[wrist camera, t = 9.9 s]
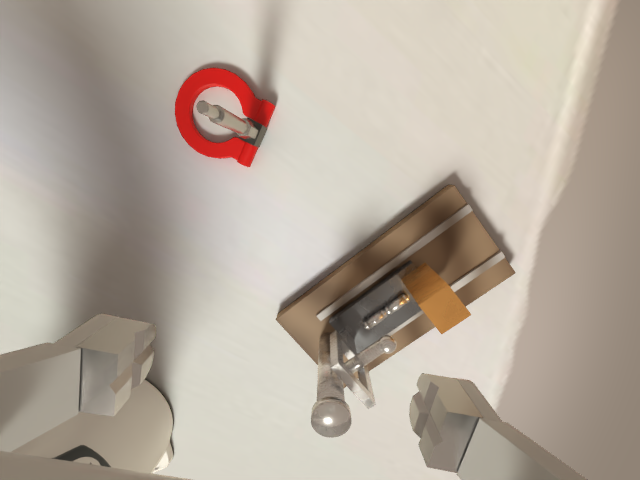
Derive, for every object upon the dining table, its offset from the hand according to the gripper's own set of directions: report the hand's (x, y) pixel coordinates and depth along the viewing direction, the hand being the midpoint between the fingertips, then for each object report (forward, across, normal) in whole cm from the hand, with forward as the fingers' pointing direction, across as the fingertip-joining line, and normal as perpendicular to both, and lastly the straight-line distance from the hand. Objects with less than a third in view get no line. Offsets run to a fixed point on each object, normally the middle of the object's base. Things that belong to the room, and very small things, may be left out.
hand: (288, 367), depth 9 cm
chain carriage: (+22, -10, +7) cm, 25 cm away
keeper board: (+24, -11, +6) cm, 27 cm away
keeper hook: (+23, -7, +11) cm, 26 cm away
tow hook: (+25, +11, -9) cm, 29 cm away
